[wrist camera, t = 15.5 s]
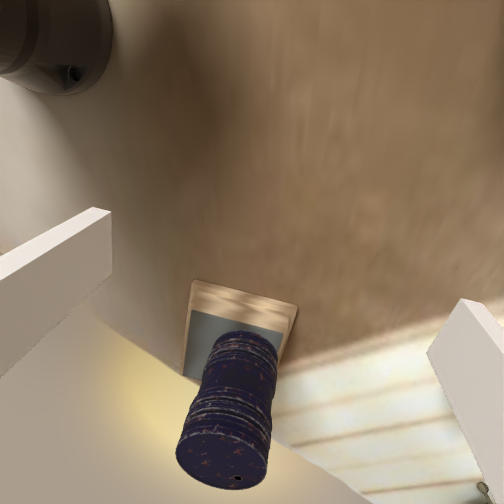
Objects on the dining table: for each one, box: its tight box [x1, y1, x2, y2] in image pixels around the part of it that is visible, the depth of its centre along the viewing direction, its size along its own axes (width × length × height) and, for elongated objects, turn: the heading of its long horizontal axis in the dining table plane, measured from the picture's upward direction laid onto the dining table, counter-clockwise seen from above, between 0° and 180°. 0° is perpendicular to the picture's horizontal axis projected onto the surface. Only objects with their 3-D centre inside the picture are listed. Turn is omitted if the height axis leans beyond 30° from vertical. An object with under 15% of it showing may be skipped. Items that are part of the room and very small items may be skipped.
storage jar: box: [175, 330, 278, 490], centre depth 39 cm, size 10×10×15 cm
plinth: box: [180, 279, 298, 381], centre depth 49 cm, size 16×16×5 cm
